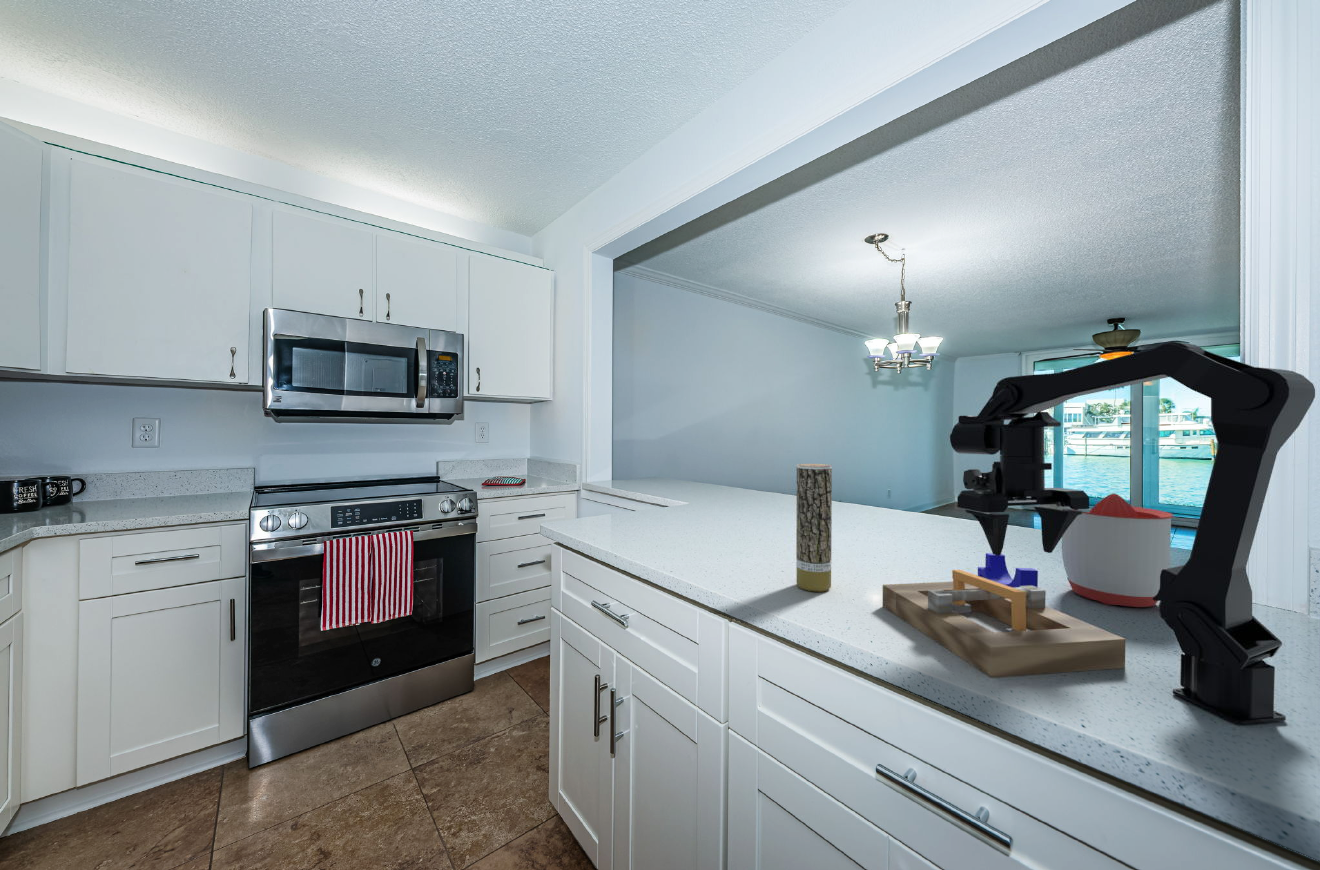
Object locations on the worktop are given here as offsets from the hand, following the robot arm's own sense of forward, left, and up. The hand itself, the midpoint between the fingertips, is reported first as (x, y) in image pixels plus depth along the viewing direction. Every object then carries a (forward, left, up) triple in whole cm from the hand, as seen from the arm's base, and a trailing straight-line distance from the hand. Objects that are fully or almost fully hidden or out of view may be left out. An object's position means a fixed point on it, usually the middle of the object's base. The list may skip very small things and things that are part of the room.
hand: (1022, 553), depth 78 cm
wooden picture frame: (0, +6, -13) cm, 14 cm away
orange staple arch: (0, +6, -11) cm, 13 cm away
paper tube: (+24, +24, -13) cm, 36 cm away
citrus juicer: (+12, -30, -13) cm, 35 cm away
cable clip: (+18, -13, -13) cm, 26 cm away
